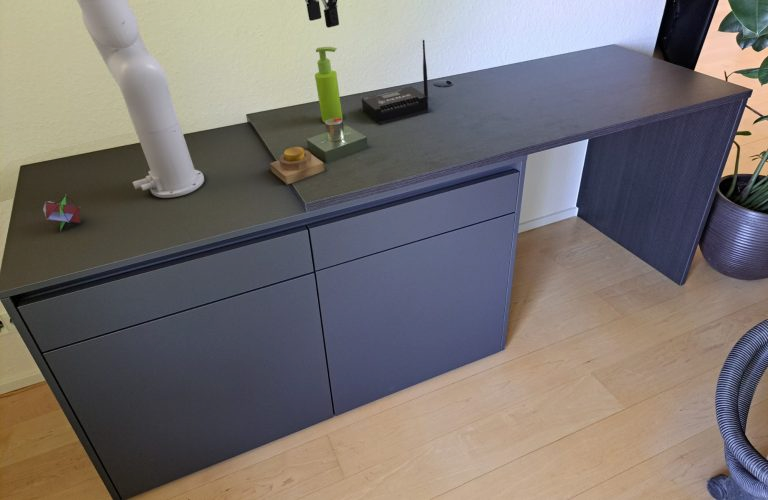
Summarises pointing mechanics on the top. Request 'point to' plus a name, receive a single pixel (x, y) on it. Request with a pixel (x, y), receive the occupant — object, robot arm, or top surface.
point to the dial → (335, 129)
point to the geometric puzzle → (62, 212)
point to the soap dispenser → (327, 87)
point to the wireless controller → (398, 102)
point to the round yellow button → (294, 154)
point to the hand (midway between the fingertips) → (323, 22)
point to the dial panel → (337, 145)
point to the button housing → (296, 168)
